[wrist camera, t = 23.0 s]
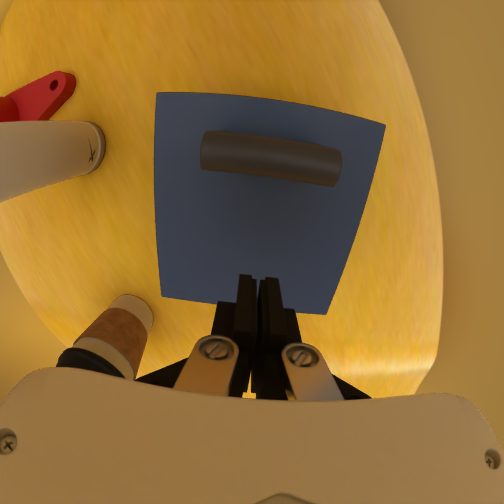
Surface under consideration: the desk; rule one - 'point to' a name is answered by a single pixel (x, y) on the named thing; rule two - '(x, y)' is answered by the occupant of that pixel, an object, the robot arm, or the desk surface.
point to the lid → (258, 195)
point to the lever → (37, 98)
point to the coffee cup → (113, 340)
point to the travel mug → (46, 153)
